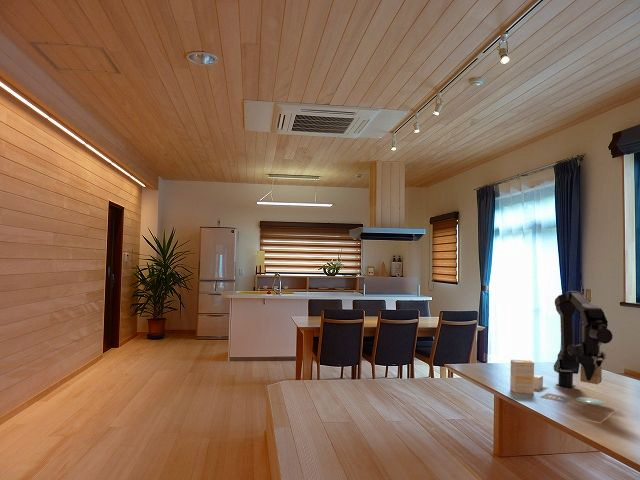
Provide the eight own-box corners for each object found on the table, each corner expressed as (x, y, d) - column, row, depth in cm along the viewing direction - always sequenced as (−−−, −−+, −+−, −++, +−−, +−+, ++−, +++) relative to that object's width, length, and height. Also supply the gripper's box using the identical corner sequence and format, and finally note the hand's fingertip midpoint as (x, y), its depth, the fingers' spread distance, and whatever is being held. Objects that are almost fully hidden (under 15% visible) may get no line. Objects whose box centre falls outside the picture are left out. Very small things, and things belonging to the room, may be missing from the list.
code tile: (547, 394, 200) (547, 392, 200) (574, 399, 193) (574, 398, 193) (539, 398, 193) (539, 397, 193) (566, 404, 186) (566, 403, 186)
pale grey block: (530, 385, 212) (530, 373, 212) (542, 387, 208) (542, 376, 209) (526, 387, 208) (526, 375, 208) (538, 389, 205) (538, 377, 205)
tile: (527, 384, 215) (527, 383, 215) (549, 388, 209) (549, 388, 209) (519, 387, 208) (519, 387, 208) (541, 392, 202) (541, 391, 202)
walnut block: (584, 378, 195) (584, 363, 195) (601, 381, 191) (601, 366, 191) (580, 381, 191) (580, 365, 191) (597, 384, 187) (597, 368, 187)
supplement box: (530, 392, 202) (530, 360, 203) (533, 395, 197) (534, 362, 198) (509, 390, 203) (510, 359, 204) (512, 393, 198) (513, 361, 199)
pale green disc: (580, 396, 198) (580, 395, 198) (608, 402, 191) (608, 401, 191) (572, 401, 190) (572, 400, 190) (601, 407, 183) (601, 406, 183)
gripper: (576, 334, 204) (575, 371, 203) (562, 338, 190) (561, 378, 190) (606, 338, 196) (605, 377, 196) (594, 342, 183) (593, 384, 182)
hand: (590, 379), depth 191 cm, fingers closed on walnut block, 6 cm apart
